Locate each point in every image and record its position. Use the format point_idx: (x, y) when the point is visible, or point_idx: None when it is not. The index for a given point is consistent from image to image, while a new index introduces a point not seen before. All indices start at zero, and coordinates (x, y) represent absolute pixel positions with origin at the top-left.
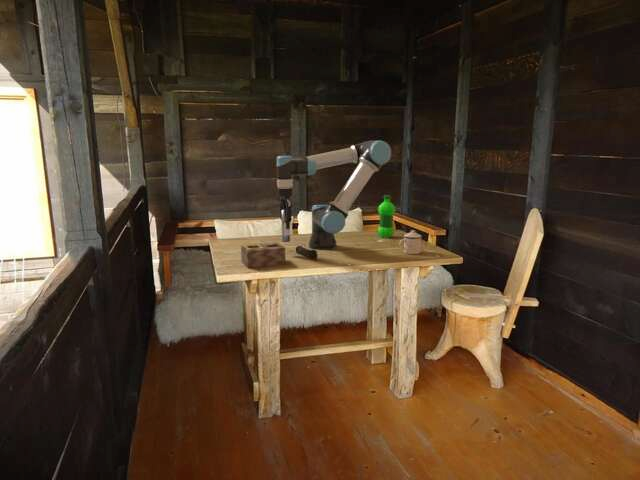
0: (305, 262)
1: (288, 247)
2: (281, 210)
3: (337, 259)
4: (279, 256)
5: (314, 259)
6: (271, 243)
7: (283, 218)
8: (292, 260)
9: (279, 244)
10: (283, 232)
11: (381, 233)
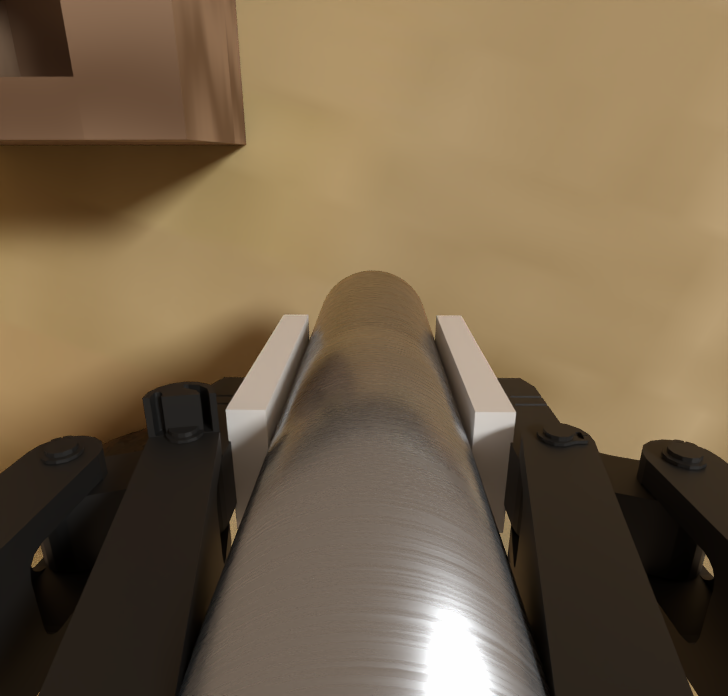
0: (45, 347)
1: (662, 401)
2: (380, 666)
3: None
4: None
5: (107, 442)
6: (147, 21)
7: (283, 455)
8: (139, 264)
9: (50, 128)
10: (332, 317)
11: None
